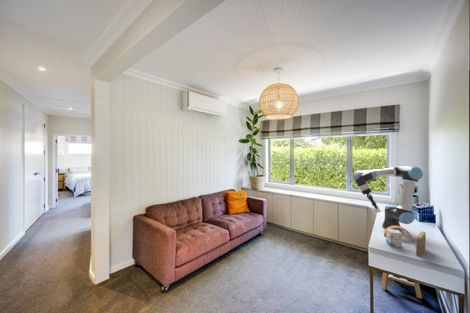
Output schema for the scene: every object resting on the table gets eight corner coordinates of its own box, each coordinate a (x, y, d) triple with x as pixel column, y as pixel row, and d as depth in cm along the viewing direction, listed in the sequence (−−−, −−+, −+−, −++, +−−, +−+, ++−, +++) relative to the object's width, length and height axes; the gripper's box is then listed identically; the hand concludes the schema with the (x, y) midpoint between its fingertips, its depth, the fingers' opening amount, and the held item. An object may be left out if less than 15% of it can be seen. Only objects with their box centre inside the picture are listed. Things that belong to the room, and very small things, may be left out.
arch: (412, 241, 178) (413, 230, 177) (384, 236, 188) (384, 225, 188) (411, 239, 183) (411, 227, 182) (383, 234, 193) (383, 223, 193)
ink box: (389, 245, 169) (389, 231, 168) (385, 241, 177) (386, 228, 176) (402, 247, 166) (402, 233, 165) (398, 243, 173) (398, 229, 173)
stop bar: (421, 248, 164) (422, 231, 164) (425, 249, 162) (425, 232, 162) (416, 255, 153) (416, 237, 153) (419, 256, 151) (420, 237, 151)
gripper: (361, 191, 202) (374, 211, 194) (360, 191, 181) (374, 214, 173) (369, 188, 199) (382, 208, 191) (369, 187, 178) (384, 211, 170)
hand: (378, 211), depth 182 cm, fingers open, 13 cm apart
